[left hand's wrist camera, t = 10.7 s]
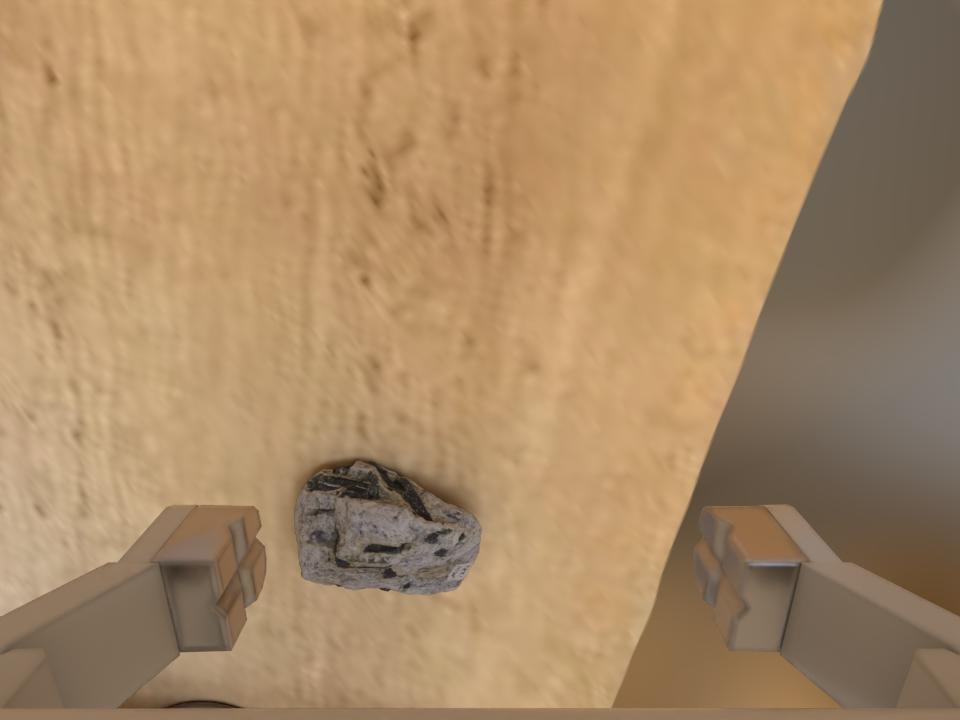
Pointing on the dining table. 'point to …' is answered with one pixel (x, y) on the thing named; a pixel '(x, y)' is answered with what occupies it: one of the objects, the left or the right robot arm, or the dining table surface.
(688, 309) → the dining table surface
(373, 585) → the rock
